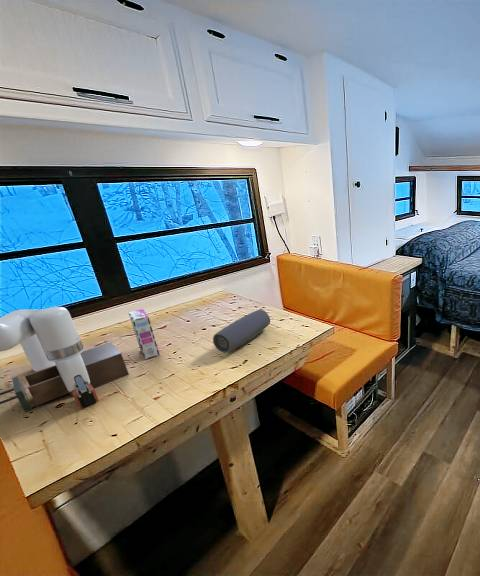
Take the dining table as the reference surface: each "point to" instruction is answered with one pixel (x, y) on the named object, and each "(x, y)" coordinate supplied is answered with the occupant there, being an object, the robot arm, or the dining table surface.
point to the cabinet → (103, 364)
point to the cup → (36, 354)
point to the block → (80, 394)
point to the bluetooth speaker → (241, 331)
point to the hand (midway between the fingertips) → (87, 401)
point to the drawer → (38, 387)
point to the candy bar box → (144, 333)
